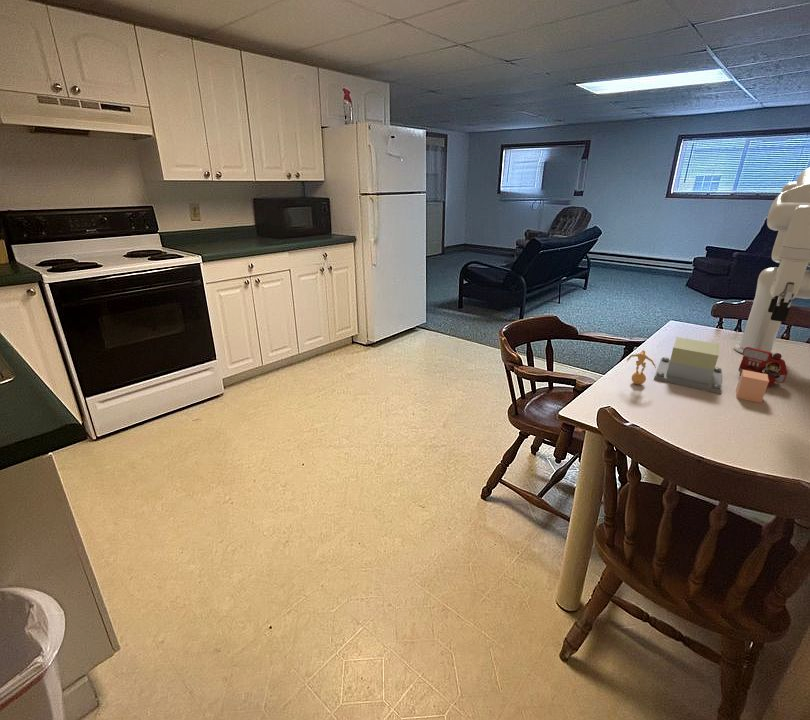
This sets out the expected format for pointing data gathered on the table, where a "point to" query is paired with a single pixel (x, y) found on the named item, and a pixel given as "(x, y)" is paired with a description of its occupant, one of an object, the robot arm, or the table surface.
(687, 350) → the grey yellow stepped block
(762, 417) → the table surface
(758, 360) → the toy fire truck
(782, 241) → the robot arm
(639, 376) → the figurine
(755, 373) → the terracotta brick
